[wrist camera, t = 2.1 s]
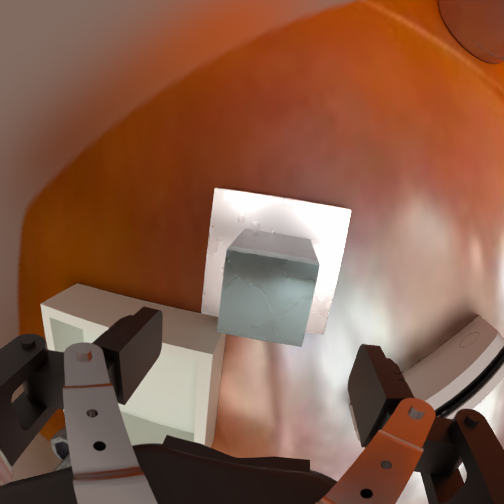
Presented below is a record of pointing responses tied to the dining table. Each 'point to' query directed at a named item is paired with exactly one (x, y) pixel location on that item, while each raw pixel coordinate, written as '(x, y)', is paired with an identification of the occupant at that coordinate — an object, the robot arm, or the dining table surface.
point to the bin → (164, 369)
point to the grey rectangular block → (268, 287)
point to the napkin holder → (458, 370)
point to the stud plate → (281, 222)
